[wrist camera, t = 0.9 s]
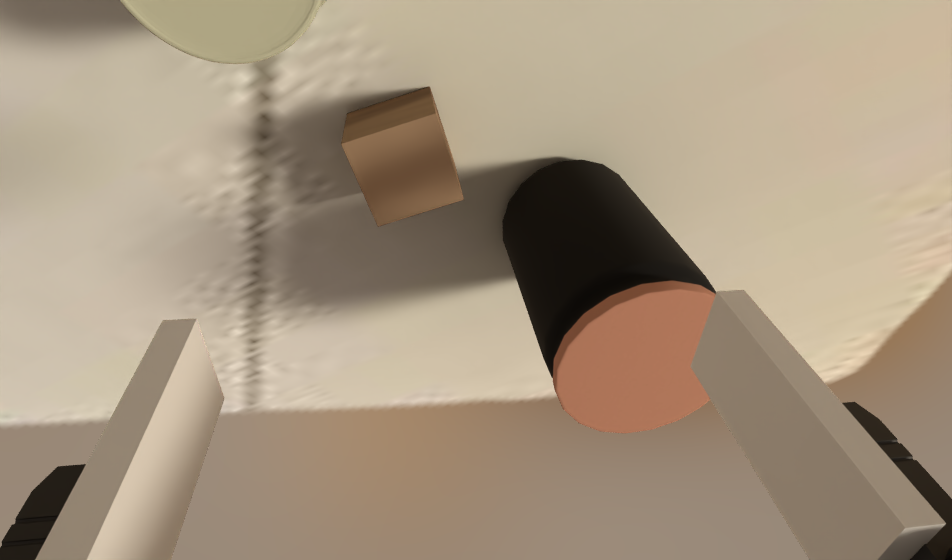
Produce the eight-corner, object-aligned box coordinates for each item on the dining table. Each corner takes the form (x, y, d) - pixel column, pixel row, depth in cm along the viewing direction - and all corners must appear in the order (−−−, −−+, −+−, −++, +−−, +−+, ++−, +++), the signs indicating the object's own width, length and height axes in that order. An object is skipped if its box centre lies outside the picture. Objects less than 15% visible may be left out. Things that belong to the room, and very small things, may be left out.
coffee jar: (534, 290, 49) (598, 458, 34) (475, 199, 43) (520, 353, 28) (645, 231, 47) (763, 382, 32) (598, 127, 41) (717, 252, 26)
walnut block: (347, 113, 38) (341, 143, 33) (429, 86, 38) (435, 113, 33) (379, 188, 41) (377, 226, 36) (454, 164, 41) (464, 199, 36)
